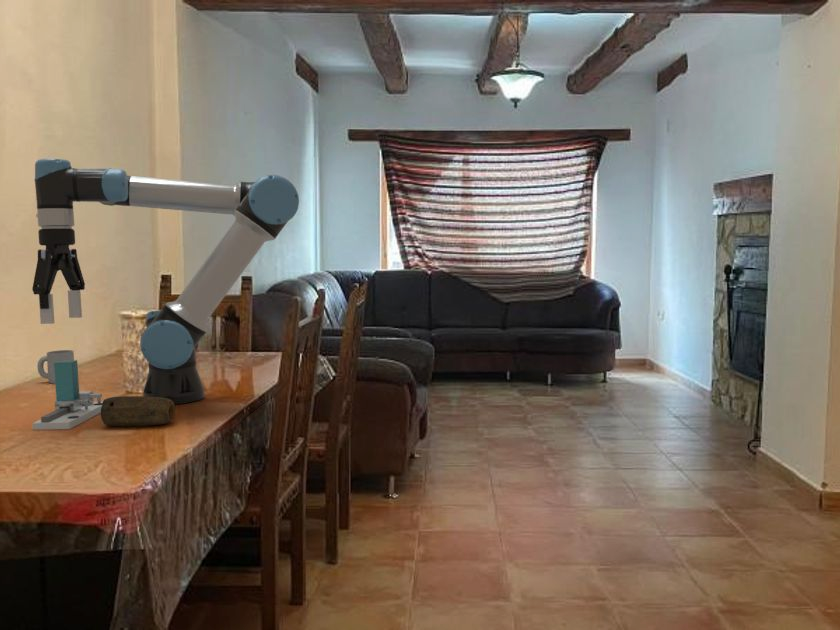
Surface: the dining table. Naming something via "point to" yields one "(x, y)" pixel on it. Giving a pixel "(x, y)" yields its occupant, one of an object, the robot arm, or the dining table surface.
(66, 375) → the block
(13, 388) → the dining table surface
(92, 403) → the gauge plate
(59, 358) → the cup
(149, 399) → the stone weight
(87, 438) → the dining table surface
